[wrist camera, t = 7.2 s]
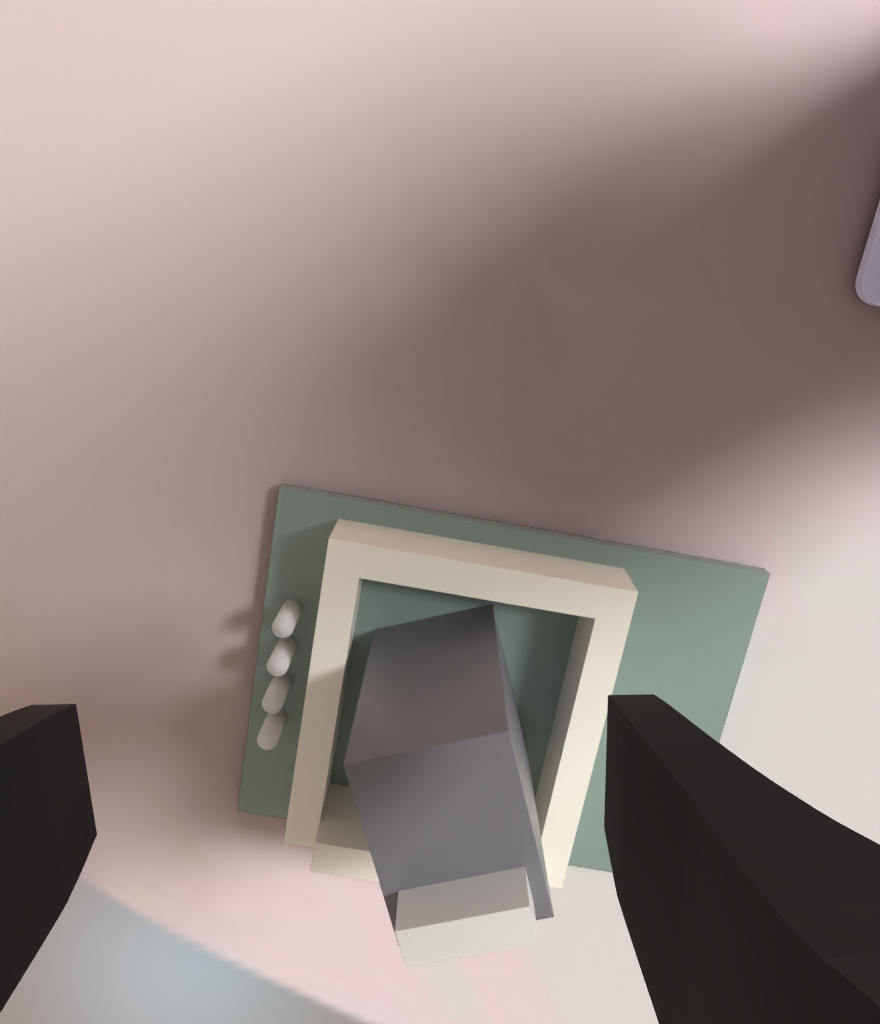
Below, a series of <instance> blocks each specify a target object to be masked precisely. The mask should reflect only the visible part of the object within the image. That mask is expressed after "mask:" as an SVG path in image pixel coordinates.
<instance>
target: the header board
mask: <svg viewBox="0 0 880 1024" xmlns="http://www.w3.org/2000/svg"><path fill="white" fill-rule="evenodd" d="M769 575H770V573H768V572H767V571H766V570H765V569H764V568H758V567H753V566H747V565H741V564H736V563H730V562H724V561H719V560H713V559H707V558H701V557H696V556H690V555H684V554H679V553H673V552H667V551H662V550H656V549H650V548H645V547H639V546H633V545H627V544H622V543H616V542H610V541H605V540H599V539H593V538H588V537H582V536H576V535H571V534H565V533H559V532H553V531H548V530H542V529H536V528H531V527H525V526H519V525H514V524H508V523H502V522H497V521H491V520H485V519H479V518H474V517H468V516H462V515H457V514H451V513H445V512H440V511H434V510H428V509H423V508H417V507H411V506H405V505H400V504H394V503H388V502H383V501H377V500H371V499H366V498H360V497H354V496H349V495H343V494H337V493H331V492H326V491H320V490H314V489H309V488H303V487H297V486H292V485H286V484H282V485H281V486H280V487H279V493H278V501H277V508H276V516H275V524H274V532H273V539H272V547H271V555H270V562H269V570H268V578H267V586H266V593H265V601H264V609H263V617H262V624H261V632H260V640H259V648H258V655H257V663H256V671H255V678H254V686H253V694H252V702H251V709H250V717H249V725H248V733H247V740H246V748H245V756H244V763H243V771H242V779H241V787H240V794H239V802H238V810H237V811H239V812H245V813H252V814H258V815H264V816H270V817H276V818H282V819H287V823H286V830H285V837H284V843H283V844H289V845H295V846H301V847H307V848H313V849H314V850H313V856H312V863H311V869H310V871H312V872H319V873H325V874H331V875H337V876H344V877H350V878H356V879H362V880H368V881H375V882H379V879H378V876H377V873H376V869H375V866H374V863H373V860H372V856H371V853H370V850H369V847H368V843H367V840H366V837H365V833H364V830H363V827H362V824H361V820H360V817H359V814H358V810H357V807H356V804H355V801H354V797H353V794H352V791H351V788H350V784H349V781H348V778H347V774H346V771H345V768H344V761H345V756H346V752H347V748H348V743H349V739H350V735H351V730H352V726H353V721H354V717H355V713H356V708H357V704H358V700H359V695H360V691H361V687H362V682H363V678H364V673H365V669H366V665H367V660H368V656H369V652H370V647H371V643H372V639H373V634H374V630H375V629H379V628H383V627H388V626H393V625H397V624H402V623H406V622H411V621H416V620H420V619H425V618H429V617H434V616H438V615H443V614H448V613H452V612H457V611H461V610H466V609H471V608H475V607H480V606H484V605H489V604H493V608H494V612H495V617H496V621H497V625H498V629H499V633H500V638H501V642H502V646H503V650H504V654H505V659H506V663H507V667H508V671H509V675H510V680H511V684H512V688H513V692H514V696H515V701H516V705H517V709H518V713H519V718H520V722H521V726H522V730H523V734H524V739H525V743H526V748H527V754H528V760H529V767H530V773H531V779H532V785H533V791H534V798H535V804H536V810H537V816H538V822H539V829H540V835H541V841H542V847H543V853H544V860H545V866H546V872H547V878H548V884H549V887H555V888H561V889H562V886H563V882H564V878H565V874H566V870H567V866H568V865H572V866H578V867H584V868H590V869H596V870H602V871H609V872H612V867H611V862H610V857H609V851H608V846H607V841H606V835H605V830H604V813H605V778H606V744H607V709H608V695H641V694H654V695H656V696H657V697H659V698H660V699H662V700H663V701H665V702H666V703H667V704H669V705H670V706H671V707H673V708H674V709H675V710H677V711H678V712H679V713H681V714H682V715H683V716H684V717H686V718H687V719H688V720H690V721H691V722H692V723H693V724H695V725H696V726H697V727H699V728H700V729H701V730H703V731H704V732H705V733H706V734H708V735H709V736H710V737H712V738H713V739H714V740H716V741H717V742H718V743H719V741H720V738H721V734H722V731H723V728H724V724H725V721H726V718H727V714H728V711H729V708H730V705H731V701H732V698H733V695H734V691H735V688H736V685H737V681H738V678H739V675H740V671H741V668H742V665H743V662H744V658H745V655H746V652H747V648H748V645H749V642H750V638H751V635H752V632H753V628H754V625H755V622H756V618H757V615H758V612H759V609H760V605H761V602H762V599H763V595H764V592H765V589H766V585H767V582H768V579H769Z"/></svg>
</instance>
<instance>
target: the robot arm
mask: <svg viewBox="0 0 880 1024" xmlns="http://www.w3.org/2000/svg"><path fill="white" fill-rule="evenodd" d="M855 288H856V292H857V295H858V297H859V298H860V299H861V300H862V301H863V302H865V303H867V304H870V305H873V306H879V307H880V200H879V204H878V207H877V210H876V214H875V217H874V220H873V224H872V227H871V230H870V234H869V237H868V240H867V244H866V247H865V250H864V254H863V257H862V260H861V264H860V267H859V270H858V273H857V277H856V284H855ZM604 830H605V835H606V841H607V846H608V851H609V857H610V862H611V867H612V872H613V877H614V882H615V887H616V891H617V896H618V900H619V903H620V906H621V909H622V912H623V916H624V919H625V922H626V925H627V928H628V931H629V934H630V937H631V940H632V943H633V946H634V949H635V953H636V956H637V959H638V962H639V965H640V968H641V971H642V974H643V977H644V980H645V983H646V986H647V989H648V992H649V995H650V998H651V1001H652V1004H653V1007H654V1010H655V1013H656V1016H657V1019H658V1022H659V1024H880V845H879V844H877V843H875V842H873V841H872V840H870V839H868V838H866V837H864V836H862V835H860V834H859V833H857V832H855V831H853V830H851V829H849V828H847V827H846V826H844V825H842V824H840V823H838V822H837V821H835V820H833V819H832V818H830V817H828V816H826V815H825V814H823V813H821V812H820V811H818V810H816V809H815V808H813V807H812V806H810V805H809V804H807V803H805V802H804V801H802V800H801V799H799V798H798V797H796V796H794V795H793V794H791V793H790V792H788V791H787V790H785V789H784V788H782V787H780V786H779V785H777V784H776V783H774V782H773V781H771V780H770V779H768V778H767V777H766V776H764V775H763V774H761V773H760V772H758V771H757V770H755V769H754V768H753V767H751V766H750V765H748V764H747V763H746V762H744V761H743V760H741V759H740V758H739V757H737V756H736V755H735V754H733V753H732V752H730V751H729V750H728V749H726V748H725V747H724V746H722V745H721V744H720V743H718V742H717V741H716V740H714V739H713V738H712V737H710V736H709V735H708V734H706V733H705V732H704V731H703V730H701V729H700V728H699V727H697V726H696V725H695V724H693V723H692V722H691V721H690V720H688V719H687V718H686V717H684V716H683V715H682V714H681V713H679V712H678V711H677V710H675V709H674V708H673V707H671V706H670V705H669V704H667V703H666V702H665V701H663V700H662V699H660V698H659V697H657V696H656V695H654V694H641V695H608V709H607V744H606V778H605V813H604ZM96 835H97V832H96V826H95V820H94V814H93V807H92V801H91V795H90V789H89V783H88V776H87V770H86V764H85V758H84V752H83V745H82V739H81V733H80V727H79V721H78V714H77V708H76V704H59V705H30V706H27V707H24V708H21V709H19V710H16V711H13V712H11V713H8V714H6V715H3V716H1V717H0V1012H1V1011H2V1009H3V1007H4V1006H5V1004H6V1003H7V1001H8V999H9V998H10V996H11V994H12V993H13V991H14V990H15V988H16V986H17V985H18V983H19V981H20V980H21V978H22V977H23V975H24V973H25V972H26V970H27V969H28V967H29V965H30V963H31V962H32V960H33V959H34V957H35V956H36V954H37V952H38V951H39V949H40V947H41V946H42V944H43V942H44V941H45V939H46V937H47V936H48V934H49V932H50V930H51V929H52V927H53V925H54V924H55V922H56V921H57V919H58V917H59V916H60V914H61V912H62V910H63V909H64V907H65V905H66V904H67V902H68V899H69V897H70V895H71V893H72V891H73V888H74V886H75V884H76V882H77V880H78V878H79V876H80V873H81V871H82V869H83V866H84V864H85V862H86V859H87V857H88V854H89V852H90V850H91V847H92V845H93V842H94V840H95V838H96Z"/></svg>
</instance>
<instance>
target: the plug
mask: <svg viewBox="0 0 880 1024" xmlns="http://www.w3.org/2000/svg"><path fill="white" fill-rule="evenodd" d="M344 768H345V771H346V774H347V778H348V781H349V784H350V788H351V791H352V794H353V797H354V801H355V804H356V807H357V810H358V814H359V817H360V820H361V824H362V827H363V830H364V833H365V837H366V840H367V843H368V847H369V850H370V853H371V856H372V860H373V863H374V866H375V869H376V873H377V876H378V879H379V883H380V886H381V889H382V892H383V896H384V899H385V902H386V906H387V909H388V912H389V915H390V919H391V922H392V925H393V928H394V932H395V935H396V938H397V942H398V945H399V947H400V950H401V953H402V957H403V960H404V963H405V966H406V968H411V967H416V966H421V965H427V964H432V963H438V962H443V961H448V960H454V959H459V958H465V957H470V956H476V955H481V954H486V953H492V952H497V951H503V950H508V949H513V948H519V947H524V946H530V945H535V944H539V939H538V931H537V924H536V920H539V919H545V918H550V917H554V915H553V909H552V903H551V897H550V891H549V884H548V878H547V872H546V866H545V860H544V853H543V847H542V841H541V835H540V829H539V822H538V816H537V810H536V804H535V798H534V791H533V785H532V779H531V773H530V767H529V760H528V754H527V748H526V743H525V739H524V734H523V730H522V726H521V722H520V718H519V713H518V709H517V705H516V701H515V696H514V692H513V688H512V684H511V680H510V675H509V671H508V667H507V663H506V659H505V654H504V650H503V646H502V642H501V638H500V633H499V629H498V625H497V621H496V617H495V612H494V608H493V604H489V605H484V606H480V607H475V608H471V609H466V610H461V611H457V612H452V613H448V614H443V615H438V616H434V617H429V618H425V619H420V620H416V621H411V622H406V623H402V624H397V625H393V626H388V627H383V628H379V629H375V630H374V634H373V639H372V643H371V647H370V652H369V656H368V660H367V665H366V669H365V673H364V678H363V682H362V687H361V691H360V695H359V700H358V704H357V708H356V713H355V717H354V721H353V726H352V730H351V735H350V739H349V743H348V748H347V752H346V756H345V761H344Z"/></svg>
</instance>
